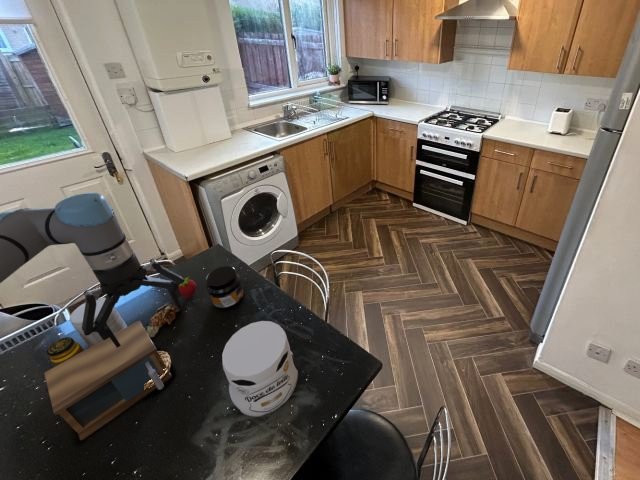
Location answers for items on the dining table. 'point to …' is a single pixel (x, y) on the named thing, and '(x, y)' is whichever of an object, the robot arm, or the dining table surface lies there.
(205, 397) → the dining table surface
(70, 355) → the condiment
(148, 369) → the glass door
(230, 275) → the supplement container
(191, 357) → the dining table surface
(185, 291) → the strawberry
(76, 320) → the supplement tub
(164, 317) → the pastry
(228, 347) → the doce de leite tub
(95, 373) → the cabinet
